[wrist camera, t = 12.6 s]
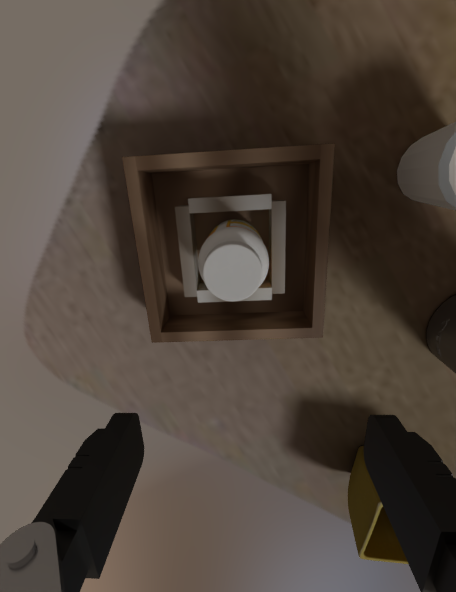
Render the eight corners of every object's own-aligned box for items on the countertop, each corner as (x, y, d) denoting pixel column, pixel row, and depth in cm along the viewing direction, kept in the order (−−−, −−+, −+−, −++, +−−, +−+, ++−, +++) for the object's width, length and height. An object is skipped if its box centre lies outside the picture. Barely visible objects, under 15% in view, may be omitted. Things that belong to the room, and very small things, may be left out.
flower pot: (348, 430, 37) (380, 502, 28) (417, 438, 37) (470, 512, 28) (332, 480, 40) (357, 559, 31) (396, 487, 40) (439, 568, 31)
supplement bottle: (219, 281, 30) (210, 322, 20) (198, 231, 28) (178, 251, 19) (270, 263, 29) (284, 296, 20) (251, 209, 27) (257, 219, 18)
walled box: (317, 151, 26) (334, 143, 21) (310, 315, 32) (322, 337, 27) (142, 163, 27) (122, 157, 22) (164, 320, 32) (151, 342, 28)
